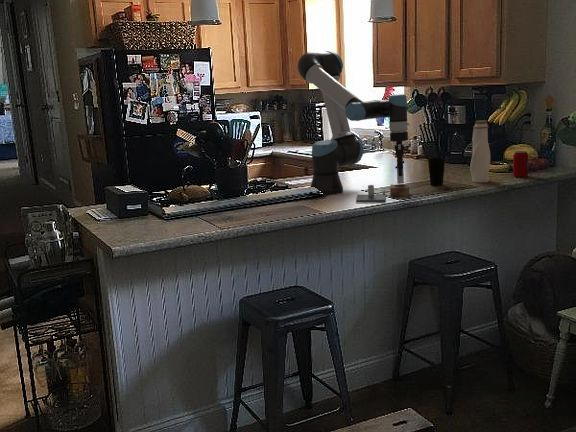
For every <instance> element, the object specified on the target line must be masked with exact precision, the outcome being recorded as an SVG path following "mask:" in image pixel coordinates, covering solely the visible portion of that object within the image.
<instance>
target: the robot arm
mask: <svg viewBox="0 0 576 432" xmlns="http://www.w3.org/2000/svg"><path fill="white" fill-rule="evenodd" d="M343 68H344V63H343V59H342V58H341V56H340V55H339V53H337V52H335V51H330V50H329V51H328V50H325V51H308V52H306V53H304V54H302V55H301V57H299V59H298V62H297V72H298V74H299V75H300V77H301V78H302V79H303V80H304V81H305V82H307V83H308V84H309V85H310V84H313V85H314V86H315V87H316V88H317V89H318V90H320V91H321V94H322V98H323V102H324V106H325V110H326V111H325V112H326V114H327V118H328V123H329V126H330V130H331V135H332V137H331V138H330V139H325V140H320V141H316V142H314V143H313V144H312V145H311V162H312V178H311V183H310V186H309V188H310V187H315V188H317V189H318V190H319V191H321V192H322V193H323V194H326V195H325V196H329V195H328V194H334V195H339V194H341V193H344V187H343V183H342V181H341V178H340V175H339V168H342V167H347V166H349V167H350V166H352V165H356V164H358V163H359V162H360V161H361V160H362V157H363V155H364V146H363V143H362V142H361V141H360V140H359V139H357V138H356V135H355V133H353V132H352V131H351V128H350V124H349V121H351V122H353V121H354V122H360V121H366V120H372V119H382V118H389V122H388V123H389V131H390V133H389V139H390V142H395V144H394V151H395V156H396V165H395V167H394V168H395V169H396V178H397V179H396V180H397V181H396V182H397V183H396V184H405V178H404V175H405V174H404V173H405V172H404V164H405V161H404V158H403V157H404V156H403V155H405V154H404V153H405V151H404V150H405V144H403V142H406V141H408V140H409V132H408V129H409V128H408V126H410V123H409V122H408V100H407V94H403V93H402V94H390V95H388V99H373V100H369V101H363V100H361V99H360V98H359V97H357V96H356V95H355V94H354V93H352V92H351V91H350V90H348V88H346V87H345V86H344V85H342V84H341V83H340V80H341V78H342V77H341V76H342V75H341V74H342V73H343ZM338 193H339V194H338Z"/></svg>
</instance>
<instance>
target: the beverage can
mask: <svg viewBox="0 0 576 432" xmlns="http://www.w3.org/2000/svg"><path fill="white" fill-rule="evenodd" d="M512 156H513V159H512V166H513V168H512V176H513V177H515V176H517V177H516V178H525V177H524V176H526V177H528V175H529V153H528V151H526V150H516V151H514V153H513V155H512Z"/></svg>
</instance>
